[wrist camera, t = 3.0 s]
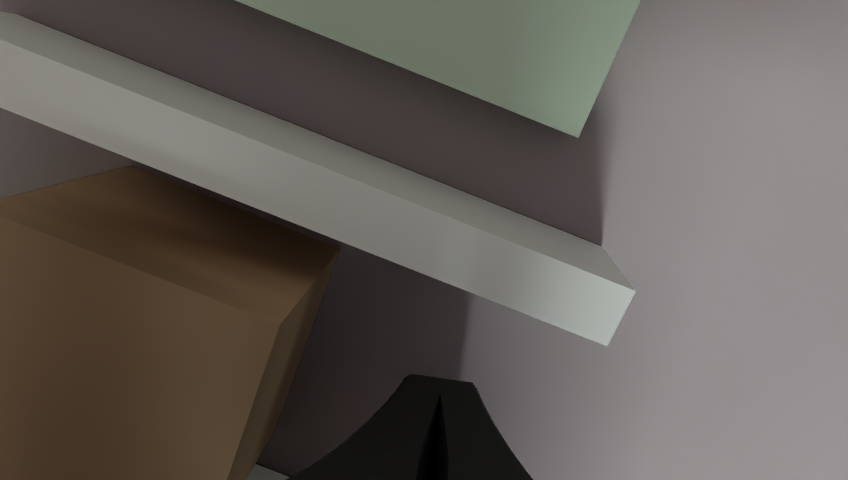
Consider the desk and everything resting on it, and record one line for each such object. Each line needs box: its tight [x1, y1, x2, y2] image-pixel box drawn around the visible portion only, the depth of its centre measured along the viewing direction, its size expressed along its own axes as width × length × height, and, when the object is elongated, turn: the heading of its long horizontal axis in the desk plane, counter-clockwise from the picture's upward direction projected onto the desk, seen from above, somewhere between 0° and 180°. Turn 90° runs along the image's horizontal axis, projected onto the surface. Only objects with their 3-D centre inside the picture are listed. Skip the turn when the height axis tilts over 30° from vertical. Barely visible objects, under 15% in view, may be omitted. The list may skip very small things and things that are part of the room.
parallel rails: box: [0, 12, 636, 480], centre depth 11 cm, size 12×8×2 cm
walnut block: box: [0, 166, 340, 480], centre depth 11 cm, size 4×4×4 cm
